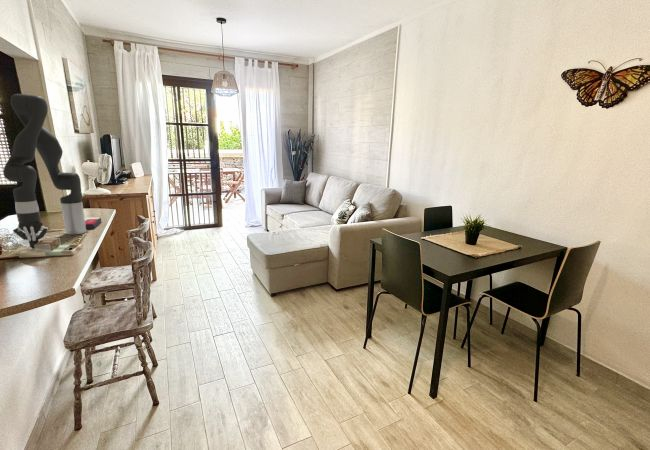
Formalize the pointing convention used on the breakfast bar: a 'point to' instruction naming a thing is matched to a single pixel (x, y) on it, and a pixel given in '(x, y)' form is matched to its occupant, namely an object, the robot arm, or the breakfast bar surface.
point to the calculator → (92, 222)
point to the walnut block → (52, 243)
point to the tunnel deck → (46, 250)
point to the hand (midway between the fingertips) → (35, 248)
